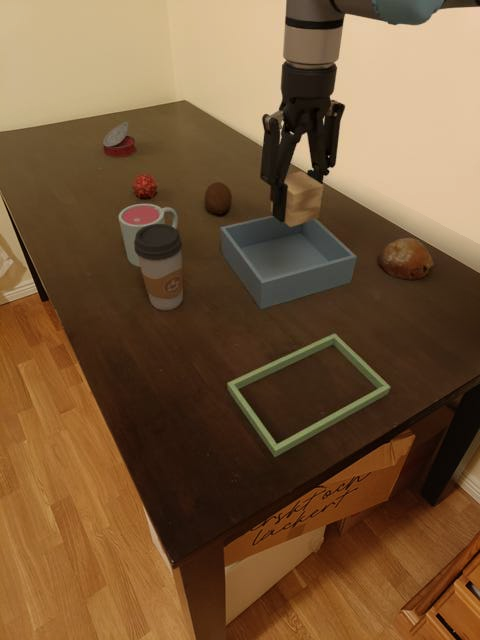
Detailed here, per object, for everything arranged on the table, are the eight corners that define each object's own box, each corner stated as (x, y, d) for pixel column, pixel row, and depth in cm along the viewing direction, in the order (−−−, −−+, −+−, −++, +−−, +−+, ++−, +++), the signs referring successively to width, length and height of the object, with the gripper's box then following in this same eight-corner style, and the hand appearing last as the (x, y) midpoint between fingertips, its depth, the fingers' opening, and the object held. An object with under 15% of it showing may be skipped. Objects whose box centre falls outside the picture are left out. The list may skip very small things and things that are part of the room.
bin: (351, 282, 88) (357, 256, 83) (260, 309, 82) (261, 283, 78) (301, 232, 102) (304, 207, 97) (221, 252, 96) (220, 227, 91)
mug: (144, 272, 90) (136, 231, 83) (119, 254, 95) (109, 214, 88) (193, 246, 97) (189, 206, 91) (167, 230, 102) (162, 192, 95)
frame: (333, 340, 76) (334, 333, 75) (388, 393, 68) (391, 386, 66) (227, 389, 68) (227, 382, 67) (274, 457, 60) (275, 451, 59)
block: (297, 202, 77) (301, 170, 73) (318, 217, 74) (323, 185, 69) (270, 211, 75) (272, 179, 71) (290, 227, 71) (293, 194, 67)
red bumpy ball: (158, 199, 118) (154, 202, 110) (134, 196, 117) (128, 198, 110) (160, 175, 116) (156, 176, 108) (135, 171, 115) (129, 172, 108)
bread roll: (401, 264, 98) (396, 231, 95) (444, 267, 90) (440, 231, 87) (374, 281, 94) (368, 247, 91) (416, 287, 86) (412, 249, 82)
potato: (225, 197, 114) (225, 171, 109) (237, 216, 107) (237, 190, 102) (200, 200, 113) (198, 175, 108) (210, 220, 105) (209, 194, 101)
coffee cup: (160, 321, 80) (148, 254, 69) (137, 298, 84) (123, 233, 74) (196, 302, 83) (190, 236, 73) (173, 281, 88) (164, 217, 78)
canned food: (132, 169, 137) (123, 148, 127) (102, 163, 138) (92, 141, 128) (143, 141, 140) (136, 118, 130) (114, 135, 141) (105, 112, 131)
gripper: (345, 47, 64) (323, 191, 80) (235, 64, 57) (236, 218, 73) (381, 58, 59) (350, 208, 75) (266, 78, 52) (260, 239, 68)
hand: (294, 213), depth 74 cm, fingers closed on block, 6 cm apart
